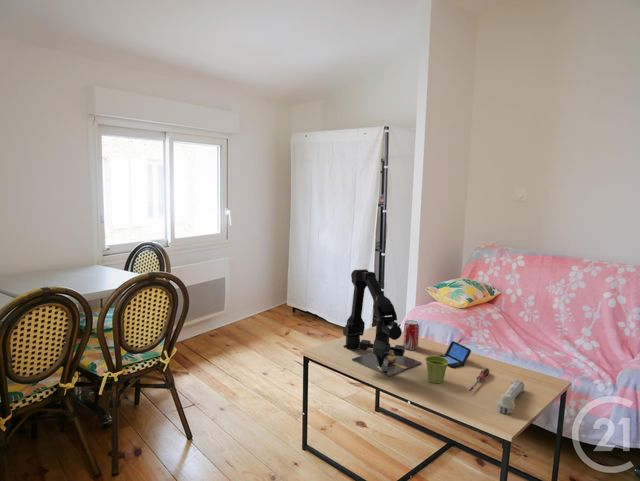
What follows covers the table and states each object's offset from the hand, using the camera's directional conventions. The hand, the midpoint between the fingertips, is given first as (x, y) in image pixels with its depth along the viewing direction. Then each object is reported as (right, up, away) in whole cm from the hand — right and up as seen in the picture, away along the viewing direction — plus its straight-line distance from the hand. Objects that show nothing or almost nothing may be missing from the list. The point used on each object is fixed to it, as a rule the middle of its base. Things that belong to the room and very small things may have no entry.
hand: (380, 367), depth 187 cm
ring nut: (+3, 0, +6) cm, 7 cm away
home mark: (+9, -2, +5) cm, 11 cm away
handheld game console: (+34, -2, +13) cm, 37 cm away
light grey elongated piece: (+46, -7, -22) cm, 51 cm away
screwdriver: (+39, -4, -8) cm, 40 cm away
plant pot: (+21, -4, -7) cm, 23 cm away
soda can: (+19, +1, +29) cm, 34 cm away
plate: (+4, -1, +11) cm, 12 cm away
